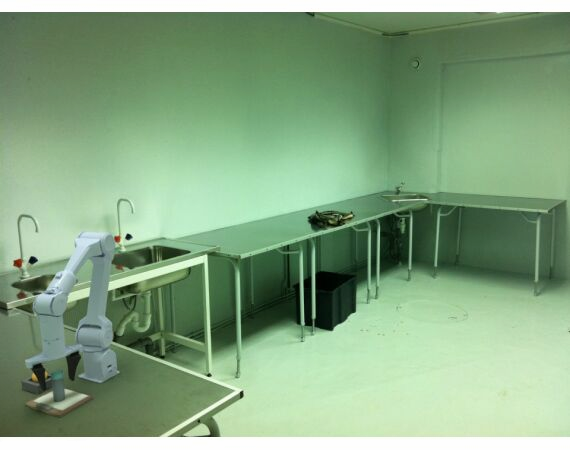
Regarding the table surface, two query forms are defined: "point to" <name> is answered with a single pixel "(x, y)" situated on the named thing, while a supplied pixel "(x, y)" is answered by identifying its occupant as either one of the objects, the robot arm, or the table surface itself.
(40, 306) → the robot arm
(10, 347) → the table surface
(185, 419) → the table surface
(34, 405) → the clipboard
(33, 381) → the button
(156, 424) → the table surface
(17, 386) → the table surface
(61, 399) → the marker
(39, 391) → the button base
